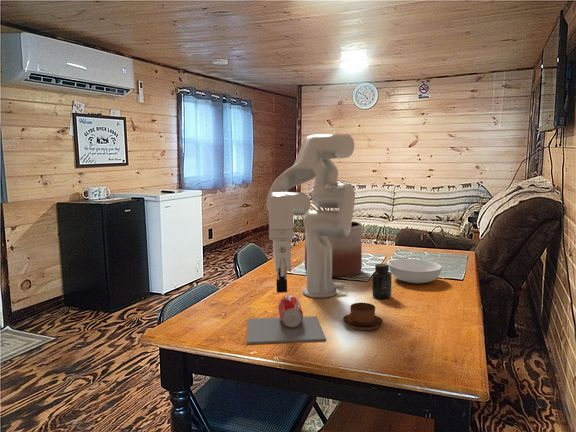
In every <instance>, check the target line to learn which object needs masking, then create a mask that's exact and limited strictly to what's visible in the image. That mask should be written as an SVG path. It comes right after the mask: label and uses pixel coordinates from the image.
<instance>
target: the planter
mask: <svg viewBox="0 0 576 432" xmlns="http://www.w3.org/2000/svg"><path fill="white" fill-rule="evenodd" d="M327 238H328V240H329V241H330V243H331V246H332V279H342V277H345V278H350V277H353V276H356V275H359V273H360V272H361V271H362V266H363V264H362V262H363V261H362V259H363V257H362V253H363V252H362V249H363V248H362V246H363V245H362V238H363V237H362V223H360V222H357V221H353V220H352V225H351V230H350V233H349V234H348V236H346V237H329V236H328V237H327ZM304 271H306V272H307V240H306V232H305V231H304Z"/></svg>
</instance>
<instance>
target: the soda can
mask: <svg viewBox="0 0 576 432" xmlns="http://www.w3.org/2000/svg"><path fill="white" fill-rule="evenodd" d="M277 308H278V314H279V318H280V319H281V321H282V323H283V324H284V325H286V326H288V327H296V326H298V325H299V324H300V323H301V321H302V319H303V317H304V312H303V308H302V305H301V303H300V301H299V299H298V298H297V297H295V296H294V295H292V294H288V295H284V296H282V297H281V298H280V300H279V302H278V307H277Z"/></svg>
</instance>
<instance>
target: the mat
mask: <svg viewBox="0 0 576 432" xmlns="http://www.w3.org/2000/svg"><path fill="white" fill-rule="evenodd" d="M246 320H247V327H246V328H247V330H246V345H258V344H259V345H260V344H262V345H264V344H280V343H281V344H283V343H284V344H285V343H287V344H288V343H303V342H307V343H308V342H309V343H310V342H326V341H327V337H326V335H325V333H324V331H323V328H322V326H321V324H320V321H319V319H318V315H317V316H316V315H314V316H313V315H312V316H303V319H302V321H301V323H300V324H299V325H298V326H296V327H288V326H286V325H284V324H283V323H282V321H281V319H280V317H264V318H262V317H261V318H260V317H259V318H247V319H246Z"/></svg>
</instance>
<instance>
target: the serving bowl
mask: <svg viewBox="0 0 576 432" xmlns="http://www.w3.org/2000/svg"><path fill="white" fill-rule="evenodd" d="M388 265H389V272H390V273H391V275H392V276H394V278H396V279H397V280H399V281H403V282H406V283H409V284H415V285H417V284H425V283H430V282H433V281H435V280H436V279H437V278H438V277H440V275H441V272H442V268H443V267H442V265H441V264H439V263H437V262H434V261H431V260H426V259H415V258H401V259H395V260H392V261H389V263H388Z"/></svg>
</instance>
